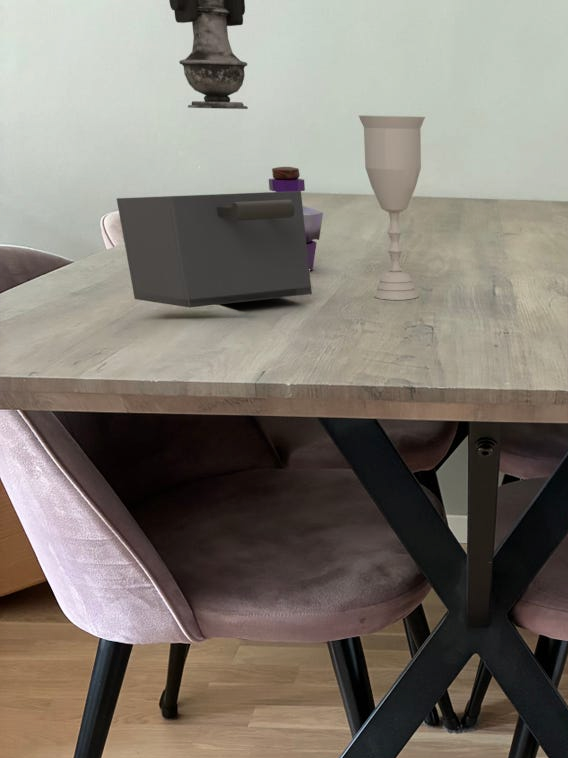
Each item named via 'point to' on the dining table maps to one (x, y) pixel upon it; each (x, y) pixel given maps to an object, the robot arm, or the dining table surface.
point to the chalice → (393, 185)
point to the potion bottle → (288, 181)
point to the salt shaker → (213, 59)
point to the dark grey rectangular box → (216, 247)
